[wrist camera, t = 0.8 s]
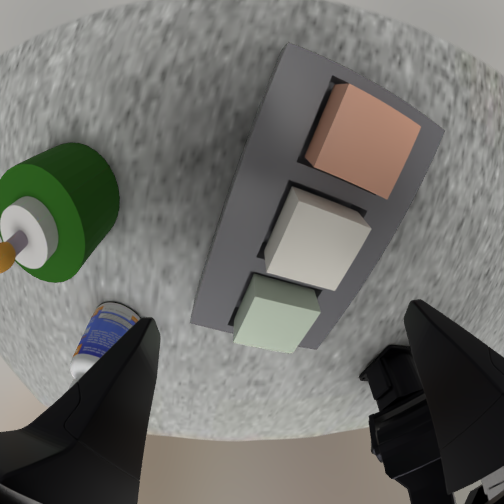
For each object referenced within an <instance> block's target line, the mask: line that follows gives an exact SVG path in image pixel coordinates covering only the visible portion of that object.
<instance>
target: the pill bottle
mask: <svg viewBox="0 0 504 504" xmlns="http://www.w3.org/2000/svg"><path fill="white" fill-rule="evenodd" d="M138 320H140V318H139V316H138V315H137V314H136V313H134V312H133V311H132V310H130V309H129V308H127V307H125V306H123V305H121V304H117V303H104V304H101V305H100V306H99V307H98V308H97V309H96V310H95V312H94V314H93V316H92V318H91V320H90V322H89V324H88V326H87V328H86V330H85V332H84V334H83V336H82V338H81V341H80V343H79V345H78V347H77V349H76V351H75V354H74V356H73V358H72V361H71V363H70V371H71V374H72V376H73V377H74V380H73V381H72V383H71V385H70V388H71V387H72V386H73V385H74V384H75V383H76V382H77V381H78V380H79V379H80V378H81V377H82V376H83V375H84V374H85V373H86V372H87V371H88V370H89V369H90V368H91V367H92V366H93V365H94V364H95V363H96V362H97V361H98V360H99V359H100V358H101V357H102V356H103V355H104V354H105V353H106V352H107V351H108V350H109V349H110V348H111V347H112V346H113V345H114V344H115V343H116V342H117V341H118V340H119V339H120V338H121V337H122V336H123V335H124V334H125V333H126V332H127V331H128V330H129V329H130V328H131V327H132V326H133V325H134V324H135V323H136V322H137V321H138ZM70 388H69V389H70Z"/></svg>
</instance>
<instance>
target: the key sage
mask: <svg viewBox="0 0 504 504" xmlns="http://www.w3.org/2000/svg"><path fill="white" fill-rule="evenodd" d="M320 313H321V311H320V307H319V304H318V300H317V297H316V294H315V290H314V289H310V288H306V287H303V286H299V285H295V284H291V283H288V282H284V281H280V280H276V279H273V278H269V277H265V276H262V275H258V274H254V275H253V277H252V279H251V282H250V284H249V286H248V289H247V291H246V293H245V295H244V298H243V300H242V302H241V305H240V307H239V309H238V311H237V314H236V316H235V318H234V333H233V343H237V344H242V345H246V346H251V347H256V348H261V349H267V350H272V351H277V352H283V353H289V354H292V353H293V352H294V350H295V349H296V348H297V346H298V345H299V343H300V342H301V341H302V339H303V338H304V336H305V335H306V334H307V332H308V331H309V329H310V328H311V326H312V325H313V323H314V322H315V320H316V319H317V317H318V316H319V314H320Z"/></svg>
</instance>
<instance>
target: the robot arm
mask: <svg viewBox="0 0 504 504" xmlns="http://www.w3.org/2000/svg"><path fill="white" fill-rule="evenodd" d="M404 324H405V328H406V332H407V336H408V339H409V343H410V347H403V346H395V345H390V346H388V347H387V348H386V349H385V350H384V351H383V352H382V353H381V354H380V355H379V357H378V358H377V359H376V360H375V361H374V362H373V363H372V364H371V365H370V366H369V367H368V368H367V369H366V370H365V371H364V372H363V373H362V374H361V375H360V376H359V378H360V381H368V382H369V385H370V388H371V391H372V394H373V398H374V400H376V402H377V405H378V408H379V411H380V412H377V413H375V414H371V415H369V421H368V422H369V427H370V435H371V452H372V454H375V455H376V456H377V458H378V460H379V461H380V462H383V464H384V467H385V473H386V474H387V475H388V476H389V477H390V478H391V479H395V480H396V481H397V482H399V483H400V484H401V485H403V486H404V487H406V488H407V489H408V493H409V497H410V501H411V504H456V500H455V496H454V492H455V491H458V490H460V489H462V488H464V487H466V486H468V485H470V484H473V483H474V482H476V481H478V480H480V479H481V481H482V485H480V486H478V487H477V488H475V489H474V490H472V491H471V492H470V493H469V495H468V497H467V500H466V502H465V504H504V357H502V356H501V355H500V354H498V353H497V352H495V351H494V350H493V349H491V348H490V347H488V346H487V345H486V344H485V343H483V342H482V341H480V340H479V339H478V338H476V337H475V336H474V335H472V334H471V333H469V332H468V331H466V330H465V329H464V328H462V327H461V326H459V325H458V324H457V323H455V322H454V321H452V320H451V319H449V318H448V317H446V316H445V315H443V314H442V313H441V312H439V311H438V310H436V309H435V308H433V307H432V306H430V305H429V304H427V303H426V302H424V301H423V300H421V299H418V300H412V301H411V302H410V303H409V306H408V308H407V311H406V313H405V316H404ZM159 349H160V333H159V330H158V328H157V325H156V322H155V320H154V319H153V318H151V317H143V318H141V319H140V320H138V321H137V322H136V323H135V324H134V325H133V326H132V327H131V328H130V329H129V330H128V331H127V332H126V333H125V334H124V335H123V336H122V337H121V338H120V339H119V340H118V341H117V342H116V343H115V344H114V345H113V346H112V347H111V348H110V349H109V350H108V351H107V352H106V353H105V354H104V355H103V356H102V357H101V358H100V359H99V360H98V361H97V362H96V363H95V364H94V365H93V366H92V367H91V368H90V369H89V370H88V371H87V372H86V373H85V374H84V375H83V376H82V377H81V378H80V379H79V380H78V381H77V382H76V383H75V384H74V385H73V386H72V387H71V388H70V389H69V390H68V391H67V392H66V393H65V394H64V395H63V396H62V397H61V398H59V399H58V400H57V401H56V402H55V403H54V404H53V405H52V406H50V407H49V408H48V409H47V410H46V411H45V412H43V413H42V414H41V415H40V416H39V417H38V418H36V419H35V420H34V421H33V422H32V423H30V424H29V425H28V426H26V427H24V428H22V429H19V430H14V431H6V432H0V504H137V502H138V492H139V483H140V481H139V480H140V475H141V467H142V460H143V453H144V446H145V440H146V434H147V428H148V422H149V416H150V411H151V405H152V400H153V395H154V390H155V385H156V379H157V370H158V359H159Z"/></svg>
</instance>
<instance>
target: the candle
mask: <svg viewBox="0 0 504 504" xmlns="http://www.w3.org/2000/svg"><path fill="white" fill-rule="evenodd" d="M119 200H120V197H119V190H118V185H117V182H116V179H115V176H114V174H113V172H112V170H111V168H110V166H109V165H108V164H107V162H106V161H105V159H104V158H103V157H102V156H101V155H100V154H99V153H97V152H96V151H95V150H93V149H92V148H90V147H88V146H86V145H83V144H80V143H65V144H61V145H59V146H56V147H54V148H52V149H49V150H47V151H45V152H43V153H40V154H38V155H36V156H34V157H32V158H30V159H27V160H25V161H23V162H21V163H19V164H17V165H15V166H14V167H12V168H10V169H9V170H7V172H6V173H5V174H4V175H3V176H2V178H1V179H0V237H1V239H2V241H3V242H2V243H0V273H3V272H5V271H7V270H8V269H9V268H10V267H11V266H12V265H13V263H14V261H16V262H17V263H18V264H19V265H20V266H21V267H22V268H23V269H24V270H25V271H27V272H28V273H29V274H31V275H32V276H34V277H36V278H38V279H40V280H44V281H47V282H54V283H57V282H64V281H66V280H68V279H71V278H72V277H73V276H74V275H75V274H76V273H77V272H78V271H79V269H80V268H81V267H82V265H83V264H84V263H85V261H86V260H87V259H88V257H89V256H90V255H91V253H92V252H93V251H94V250H95V248H96V247H97V246H98V245H99V243H100V242H101V241H102V240H103V238H104V237H105V236H106V235H107V234H108V232H109V231H110V230H111V228H112V227H113V226H114V223H115V221H116V219H117V216H118V211H119Z"/></svg>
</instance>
